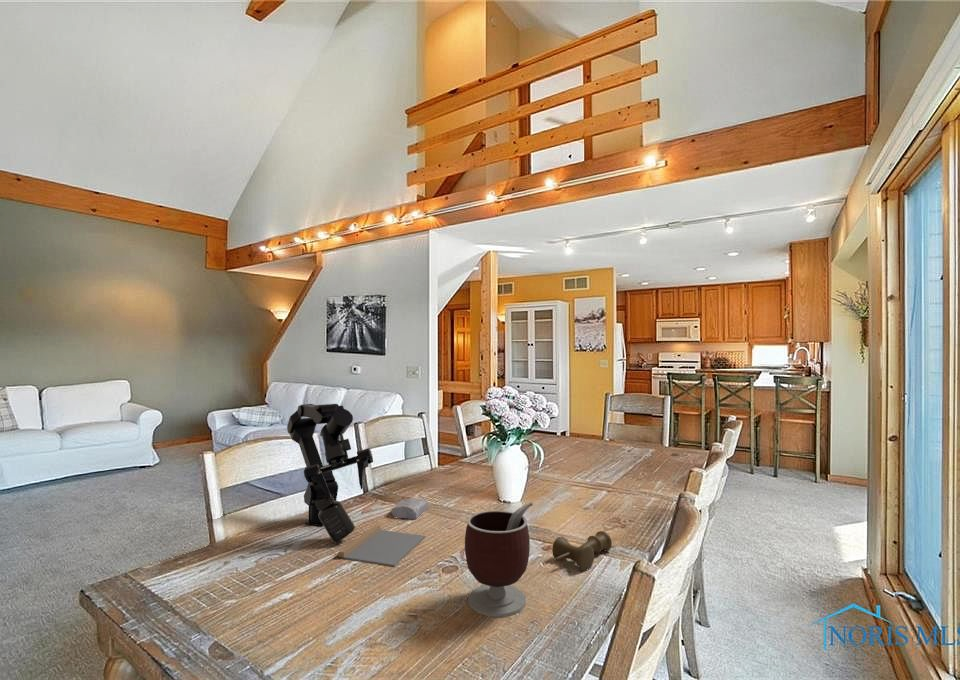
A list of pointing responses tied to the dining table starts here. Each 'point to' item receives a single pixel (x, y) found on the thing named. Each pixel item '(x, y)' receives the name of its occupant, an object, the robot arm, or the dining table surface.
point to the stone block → (410, 508)
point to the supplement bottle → (334, 518)
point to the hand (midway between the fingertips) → (346, 493)
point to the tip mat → (381, 546)
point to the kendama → (582, 549)
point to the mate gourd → (497, 560)
